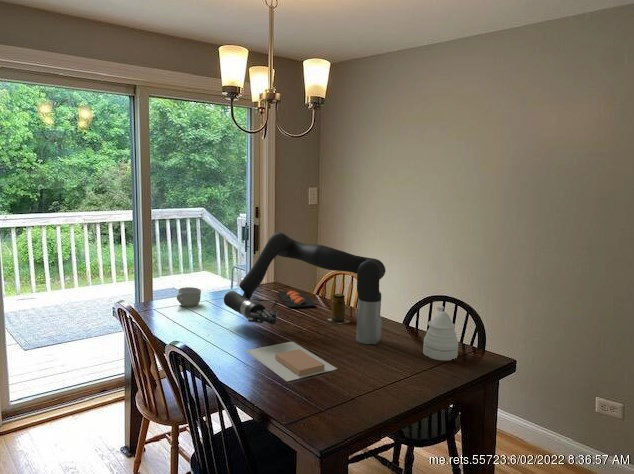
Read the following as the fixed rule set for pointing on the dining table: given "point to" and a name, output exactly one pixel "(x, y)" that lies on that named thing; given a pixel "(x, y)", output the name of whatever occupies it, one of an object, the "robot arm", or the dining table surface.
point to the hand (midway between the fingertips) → (273, 321)
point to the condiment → (338, 309)
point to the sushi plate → (293, 299)
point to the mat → (268, 359)
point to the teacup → (189, 296)
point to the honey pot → (441, 338)
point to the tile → (299, 362)
